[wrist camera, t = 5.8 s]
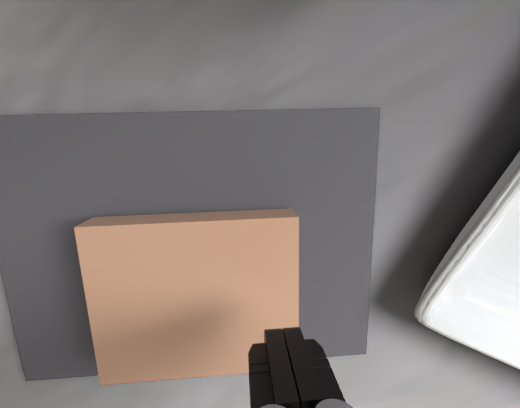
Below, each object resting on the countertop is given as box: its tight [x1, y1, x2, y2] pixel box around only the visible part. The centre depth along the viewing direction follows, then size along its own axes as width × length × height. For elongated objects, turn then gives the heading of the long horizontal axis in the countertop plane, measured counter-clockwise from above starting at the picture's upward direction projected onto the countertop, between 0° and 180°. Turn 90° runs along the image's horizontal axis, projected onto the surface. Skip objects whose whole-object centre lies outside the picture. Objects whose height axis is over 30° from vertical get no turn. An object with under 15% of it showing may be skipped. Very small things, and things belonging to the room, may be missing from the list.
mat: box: [0, 108, 380, 381], centre depth 18 cm, size 22×16×1 cm
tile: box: [74, 208, 299, 385], centre depth 17 cm, size 2×9×11 cm
